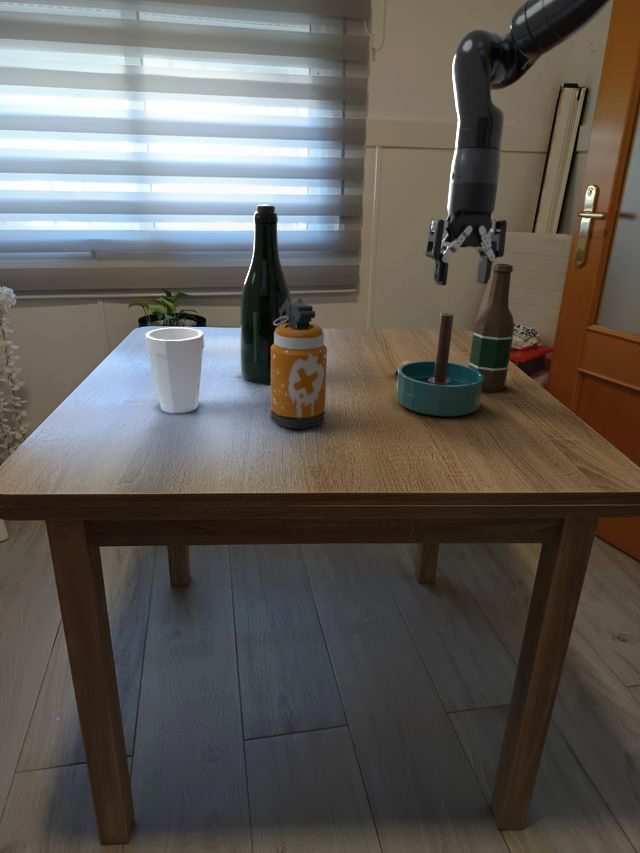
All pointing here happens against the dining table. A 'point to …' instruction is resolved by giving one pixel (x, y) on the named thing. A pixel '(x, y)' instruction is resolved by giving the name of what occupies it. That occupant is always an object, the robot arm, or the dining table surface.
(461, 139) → the robot arm
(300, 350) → the canister
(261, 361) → the green wine bottle
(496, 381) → the beer bottle
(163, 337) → the foam cup
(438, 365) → the muddler
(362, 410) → the dining table surface
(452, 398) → the bowl
